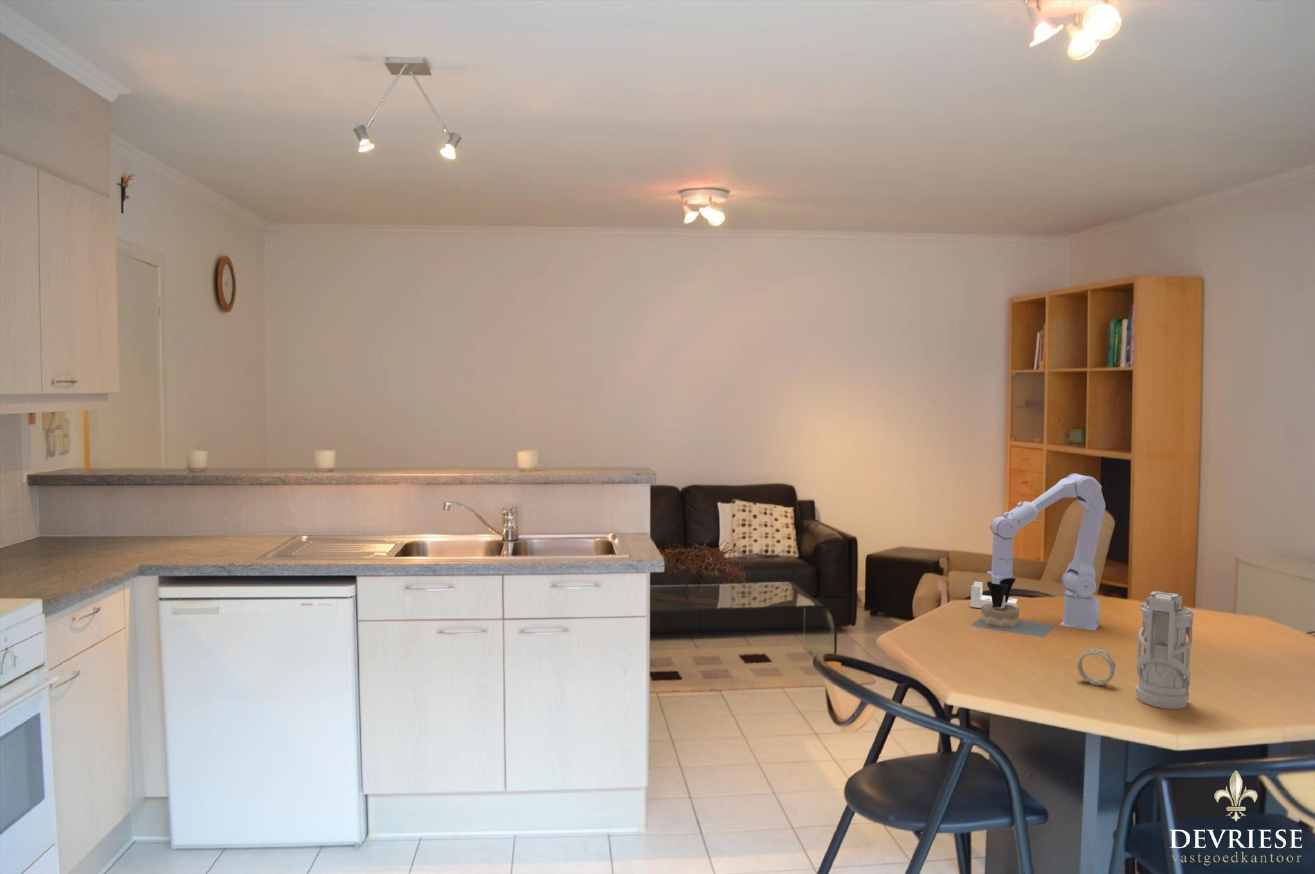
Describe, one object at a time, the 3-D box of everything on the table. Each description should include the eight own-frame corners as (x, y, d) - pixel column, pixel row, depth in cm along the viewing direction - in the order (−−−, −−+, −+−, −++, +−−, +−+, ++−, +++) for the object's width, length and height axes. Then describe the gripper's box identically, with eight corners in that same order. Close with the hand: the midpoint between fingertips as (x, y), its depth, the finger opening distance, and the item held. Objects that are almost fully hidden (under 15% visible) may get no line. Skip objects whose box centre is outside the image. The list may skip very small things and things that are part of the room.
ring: (1020, 621, 276) (1021, 606, 276) (1012, 628, 268) (1013, 612, 268) (986, 616, 282) (987, 601, 281) (978, 623, 274) (979, 607, 273)
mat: (1055, 626, 273) (1055, 625, 273) (1044, 638, 260) (1044, 636, 260) (984, 615, 284) (984, 614, 284) (970, 626, 271) (970, 625, 271)
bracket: (970, 609, 293) (971, 585, 292) (973, 605, 299) (974, 581, 299) (1014, 615, 287) (1016, 590, 287) (1016, 610, 294) (1017, 586, 293)
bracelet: (1079, 678, 224) (1080, 645, 223) (1115, 685, 219) (1117, 651, 219) (1075, 682, 221) (1076, 648, 220) (1112, 689, 216) (1114, 655, 216)
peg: (1005, 622, 275) (1006, 595, 275) (1003, 624, 273) (1004, 596, 273) (995, 620, 277) (997, 593, 276) (993, 622, 275) (995, 595, 274)
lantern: (1139, 690, 216) (1145, 582, 214) (1191, 700, 209) (1198, 589, 208) (1128, 705, 205) (1134, 591, 204) (1182, 716, 199) (1189, 599, 198)
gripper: (994, 553, 282) (992, 598, 283) (981, 560, 270) (979, 607, 271) (1018, 556, 278) (1016, 601, 279) (1007, 563, 266) (1005, 610, 267)
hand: (1000, 604), depth 275 cm, fingers open, 7 cm apart
